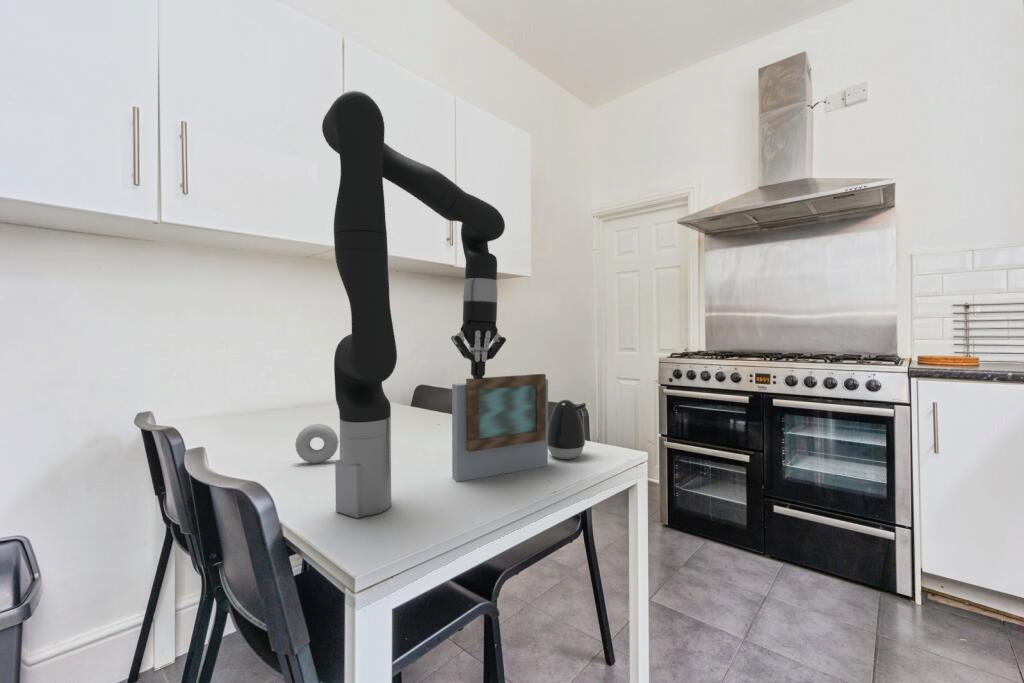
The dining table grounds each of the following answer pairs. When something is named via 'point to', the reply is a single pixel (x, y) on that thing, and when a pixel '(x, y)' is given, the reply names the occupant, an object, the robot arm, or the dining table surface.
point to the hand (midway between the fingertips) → (477, 378)
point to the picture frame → (505, 411)
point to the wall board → (490, 459)
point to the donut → (311, 454)
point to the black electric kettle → (566, 430)
